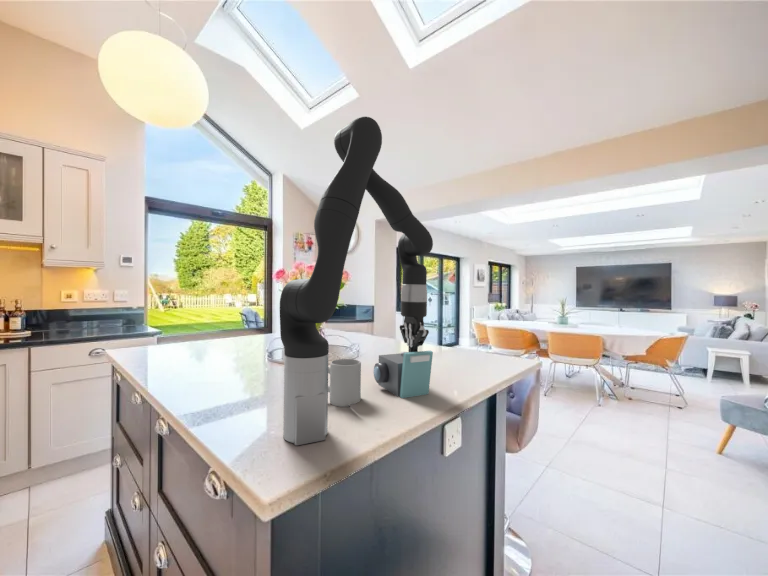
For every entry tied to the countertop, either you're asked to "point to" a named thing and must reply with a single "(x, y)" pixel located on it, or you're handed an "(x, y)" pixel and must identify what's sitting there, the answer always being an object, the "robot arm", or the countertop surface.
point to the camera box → (389, 372)
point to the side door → (416, 373)
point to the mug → (345, 382)
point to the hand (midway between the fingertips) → (412, 359)
